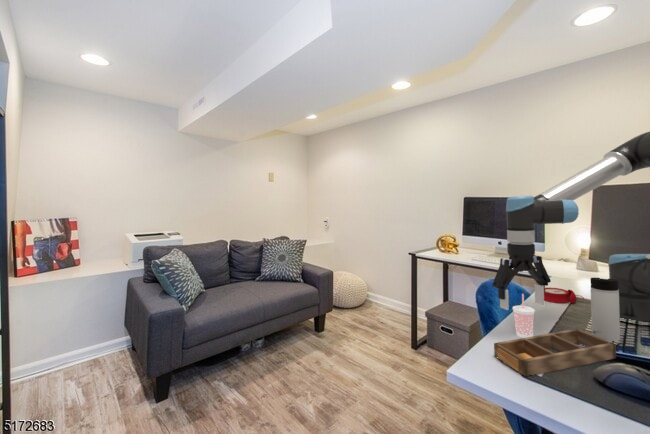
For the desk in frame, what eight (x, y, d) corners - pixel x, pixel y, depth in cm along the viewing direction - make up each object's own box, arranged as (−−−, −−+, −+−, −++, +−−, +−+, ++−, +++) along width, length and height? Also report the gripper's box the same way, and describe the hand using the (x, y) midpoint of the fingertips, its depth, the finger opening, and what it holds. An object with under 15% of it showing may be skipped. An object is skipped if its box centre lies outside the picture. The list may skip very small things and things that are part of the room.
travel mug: (592, 342, 89) (590, 278, 88) (592, 334, 94) (590, 273, 93) (621, 348, 85) (619, 281, 84) (619, 339, 90) (617, 276, 89)
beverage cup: (514, 329, 101) (512, 290, 101) (535, 333, 98) (534, 292, 97) (513, 336, 96) (511, 295, 96) (535, 340, 93) (534, 297, 92)
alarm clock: (536, 286, 134) (577, 282, 126) (540, 300, 134) (582, 296, 125) (537, 293, 125) (581, 289, 117) (542, 307, 125) (586, 304, 117)
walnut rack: (576, 341, 91) (576, 328, 91) (616, 358, 80) (615, 344, 80) (493, 356, 85) (492, 343, 85) (523, 377, 75) (523, 362, 75)
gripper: (542, 238, 102) (543, 298, 103) (479, 244, 97) (481, 306, 98) (563, 241, 94) (564, 305, 95) (496, 247, 90) (498, 314, 91)
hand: (522, 306), depth 97 cm, fingers open, 13 cm apart
